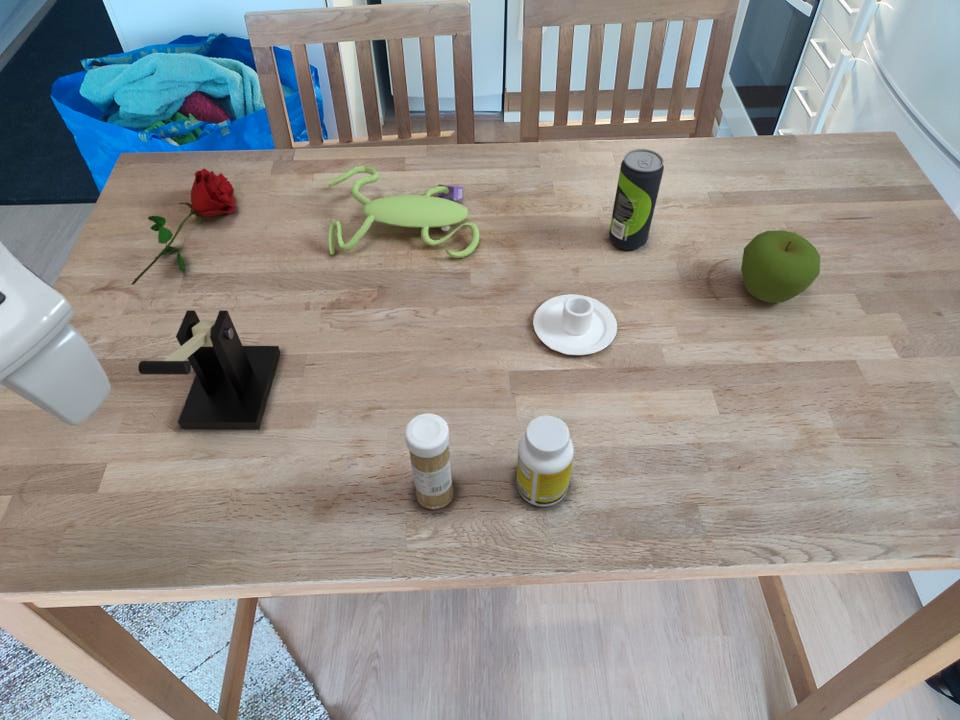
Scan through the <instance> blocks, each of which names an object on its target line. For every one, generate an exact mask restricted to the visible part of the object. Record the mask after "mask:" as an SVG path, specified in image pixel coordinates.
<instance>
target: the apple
mask: <svg viewBox="0 0 960 720" xmlns="http://www.w3.org/2000/svg"><path fill="white" fill-rule="evenodd" d="M820 269H821V255H820V253H819V252H818V250H817V248H816V247H815V245H813V244H812V243H811V242H810V241H809V240H808V239H806V238H805V237H803V236H802V235H799V234H797V232H792V231H787V230H766V231H764V232H761V233H759V234H757V235H755V237H753V238H752V239H751V240H750V241H749V242H748V243H747V245H746V246H744V248H743V253H742V261H741V267H740V271H741V275H742V279H743V282H744V286H745V289H746V291H748V292H749V294H750V295H752V297H755V298H757V299H758V300H760V301H763V302H767V303H775V304H776V303H777V304H778V303H780V304H781V303H784V302H787V301H789V300H791V299H793V298H795V297H796V296H799V295H800V294H802V293H804V292H805V291H806V290H807V289H808V288H809V287H810V286H811V285H812V284H813V283H814V281H816V279H817V278H818V277H819V275H820Z"/></svg>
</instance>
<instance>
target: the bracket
mask: <svg viewBox="0 0 960 720" xmlns="http://www.w3.org/2000/svg"><path fill="white" fill-rule="evenodd" d="M200 321H201V320H200V318H199V316H198V314H197V311H196V310H191V309H189V310H186V312H185V314H184V317H183V319H182V321H181V324H180V326H179V328H178V331H177V332H176V335H175V338H176V340H177V342H178V344H179V345H180V346H179V347H181V346H182V345H183V344H185V343H186V342H187V341H188V340H190V339H191V338H192V337H193V333H192V327H194V326H195V325H196V324H198V323H199V322H200ZM214 321H215V324H214V327H213V329H212V332H211V334H210V339H211V341H212V343H213V345H214V346H213V347H200V348H199V349H197V350H196V351H195V352H194V353H193V354H191V355H190V356H189V357H188V358H187V359H186V360H187V361H189V362H190V364H191V369H192V370H193V372H194V373H195V376H194V378H193V380H192V383H191V387H190V389H189V392H188V395H187V397H186V400H185V402H184V405H183V407H182V410H181V413H180V416H179V418H178V420H177V423H178V425H179V427H180V428H181V429H182V430H183V429H184V430H188V429H189V430H260V427H261V424H262V421H263V417H264V414H265V411H266V406H267V403H268V399H269V396H270V392H271V389H272V384H273V382H274V378H275V374H276V371H277V368H278V364H279V361H280V356H281V350H280V347H279V346H278V345H243V344H242V341H241V339H240V337H239V334H238V332H237V330H236V327H235V325H234V322H233V320H232V318H231V316H230V313H229V310H219V311H218V314H217V315H216V319H215V320H214Z"/></svg>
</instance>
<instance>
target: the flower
mask: <svg viewBox="0 0 960 720" xmlns="http://www.w3.org/2000/svg"><path fill="white" fill-rule="evenodd" d="M234 193H235V188H234V186H233V184H231V182H230V180H228V178H227V177H225V175H224V174H223V173H219V174H218V175H216V173H215V172H214V170H211V171H209V170H208V169H207V168H202V169H201V170H196V171H195V173H194V180H193V183H192V187H191V190H190V202H179V203H178V205H186V206H188V207H189V209H190V213H189V214H188V215H187V216H186V217H185V218H184V219H183V221H181V223H180V224H179V226H178V228H177V230H176V232H175V233H174V234H173V232H172V231H171V229H169V228H168V227H165V225H166V223H167V219H166V218H165V217H163V216H160V215H150V216H148V218H147V220H149V221H152V222H153V225H151V227H150V229H151V230H152V231H154V232H157V233H158V234H157V243H158V244H165V247H164V248H163V249H162V250H161V252H159V254H158V255H157V256H155V257H154V259H153V261H151V263H150V264H149V265H147V267H145V269H143V271H142V272H140V273H139V275H138V276H137V277H136V278H134V280H133V281H132V283H131V285H132V286H133V285H135V284H136V283H137V282H138V280H140V279H141V278H142V277H143V276H144V274H146V272H147V271H148V270H150V268H152V266H153V265H154V264H155V263H157V261H158V260H159V259H160V258H161V257H162V256H165V255H167V254H169V253H170V252H172V251H174V250H176V251H177V254H176V260H177V263H178V267H179V269H180V271H181V272H182V273H183V274H185V273H186V264H185V261H184V259H183V257H182V255H181V254H180V252H179V251H180V250H181V247H174V246H172V244H173V243H174V241H175V239H176V238H177V236H178V234H179V233H180V231H181V229H182V228H183V226H184V224H185V223H186V222H187V221H188V220H189V219H190V217H191V216H192V215H193V216H195V217H196V225H197V227H198V226H199V223H200V222H201V221H202V218H201V216H202V217H203V216H204V217H211V216H217V215H221V214H229V215H231V213H235V212H236V208H235V207H237V203H236V200H235V197H234Z"/></svg>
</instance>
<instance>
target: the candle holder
mask: <svg viewBox="0 0 960 720" xmlns="http://www.w3.org/2000/svg"><path fill="white" fill-rule="evenodd" d="M532 320H533V321H532V324H533V329H534V332H535V334H536V335H537V337H538V339H539V340H540V341H541V342H542V343H543V344H544V345H545V346H547V347H548V348H549V349H551V350H552V351H556V352H559V353H562V354H564V355H569V356H570V355H572V356H585V355H591V354H596V353H598V352H600V351H602V350H603V349H605V348H607V347H608V346H609V345H611V343H612V342H613V341H614V340H615V338H616V335H617V332H618V323H617V320H616V316H615V315H614V313H613V312H612V310H611V309H610V308H609V307H608V306H606V304H604V302H601V301H600V300H598V299H595V298H594V297H591V296H587V295H582V294H574V293H573V294H572V293H571V294H561V295H557V296H554V297H551V298H549V299H547V300H545V301H544V302H542V303H541V304H540V305H539V307H538V308H537V309H536V311H535V312H534V315H533V318H532Z"/></svg>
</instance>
